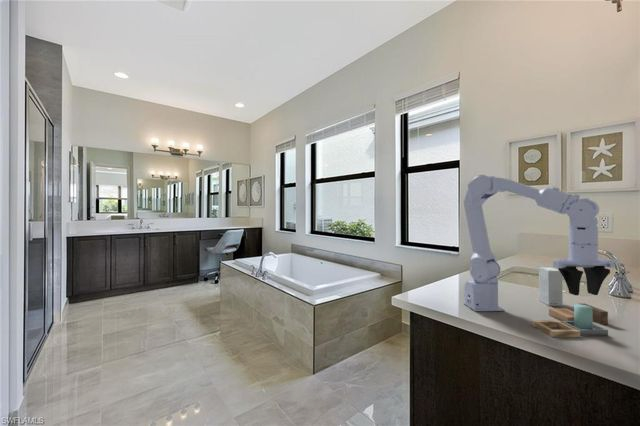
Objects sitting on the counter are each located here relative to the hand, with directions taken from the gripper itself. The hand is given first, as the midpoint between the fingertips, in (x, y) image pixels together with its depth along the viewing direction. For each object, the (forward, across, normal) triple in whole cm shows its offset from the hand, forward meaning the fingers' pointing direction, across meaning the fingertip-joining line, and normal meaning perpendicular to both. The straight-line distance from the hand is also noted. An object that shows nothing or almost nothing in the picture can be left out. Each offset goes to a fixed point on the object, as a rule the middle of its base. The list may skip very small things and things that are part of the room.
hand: (583, 294), depth 75 cm
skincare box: (+10, +8, +22) cm, 25 cm away
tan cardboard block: (+10, +2, +8) cm, 13 cm away
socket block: (+10, -8, 0) cm, 12 cm away
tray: (+10, 0, 0) cm, 10 cm away
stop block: (+10, +10, +8) cm, 16 cm away
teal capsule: (+9, 0, 0) cm, 9 cm away
